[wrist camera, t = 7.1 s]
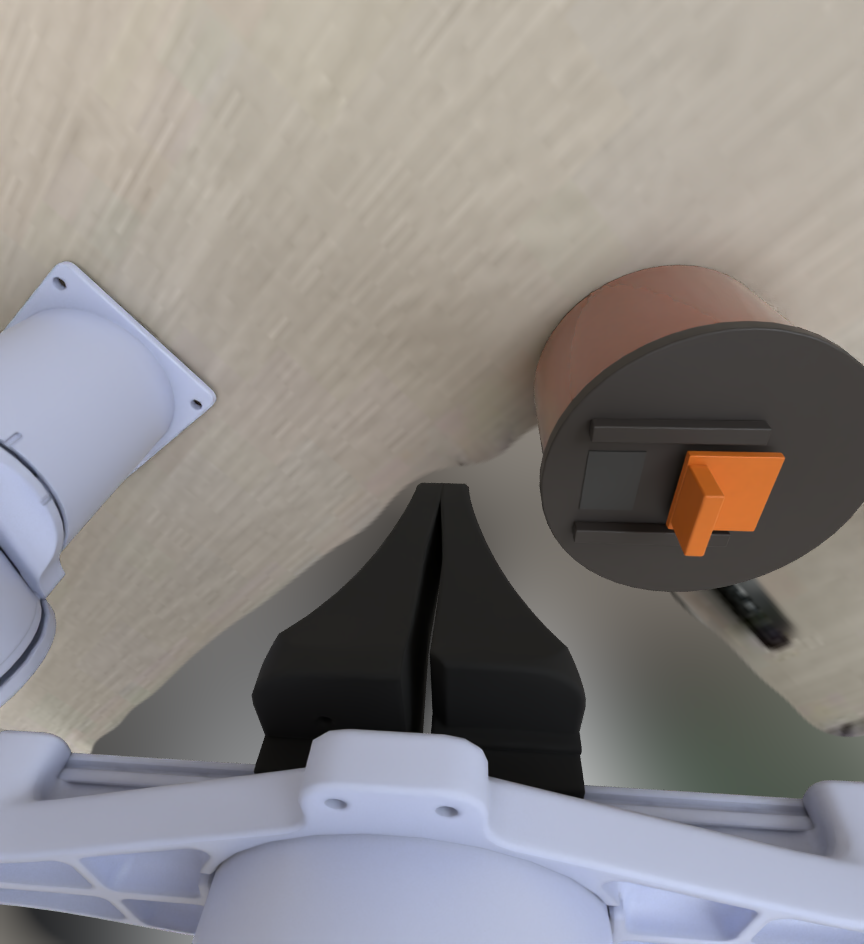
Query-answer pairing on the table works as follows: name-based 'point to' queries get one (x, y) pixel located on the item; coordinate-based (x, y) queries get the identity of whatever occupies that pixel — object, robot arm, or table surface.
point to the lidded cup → (691, 426)
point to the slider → (720, 494)
